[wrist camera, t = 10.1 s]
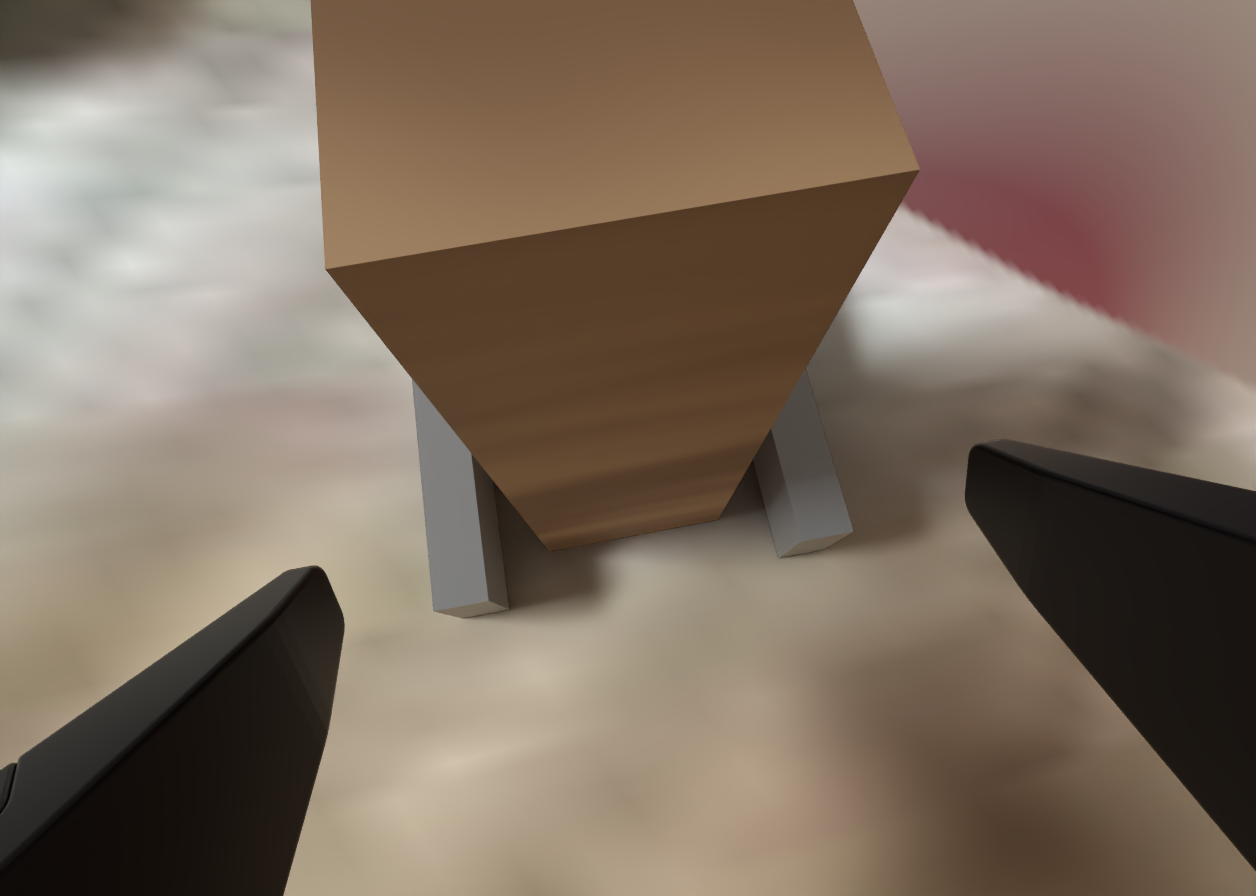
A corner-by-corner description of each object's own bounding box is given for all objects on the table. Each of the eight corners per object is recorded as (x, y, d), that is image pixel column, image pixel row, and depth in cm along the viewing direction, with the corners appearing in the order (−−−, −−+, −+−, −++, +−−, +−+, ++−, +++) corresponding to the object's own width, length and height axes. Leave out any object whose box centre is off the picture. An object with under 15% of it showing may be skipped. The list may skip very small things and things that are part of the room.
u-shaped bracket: (823, 549, 17) (853, 531, 15) (462, 618, 17) (433, 611, 14) (747, 278, 20) (763, 225, 17) (431, 332, 19) (403, 285, 17)
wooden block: (717, 519, 17) (920, 170, 5) (549, 551, 17) (325, 269, 5) (682, 366, 19) (770, -206, 6) (525, 394, 19) (303, -141, 6)
